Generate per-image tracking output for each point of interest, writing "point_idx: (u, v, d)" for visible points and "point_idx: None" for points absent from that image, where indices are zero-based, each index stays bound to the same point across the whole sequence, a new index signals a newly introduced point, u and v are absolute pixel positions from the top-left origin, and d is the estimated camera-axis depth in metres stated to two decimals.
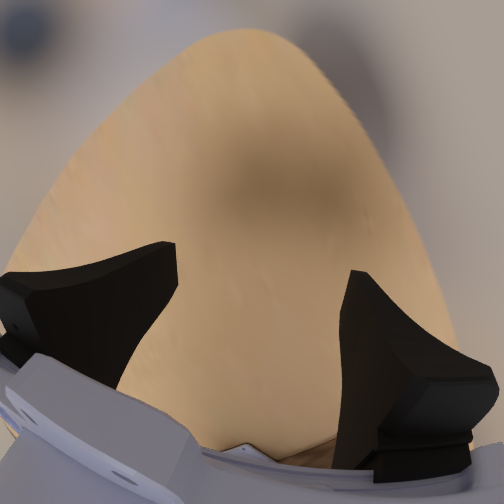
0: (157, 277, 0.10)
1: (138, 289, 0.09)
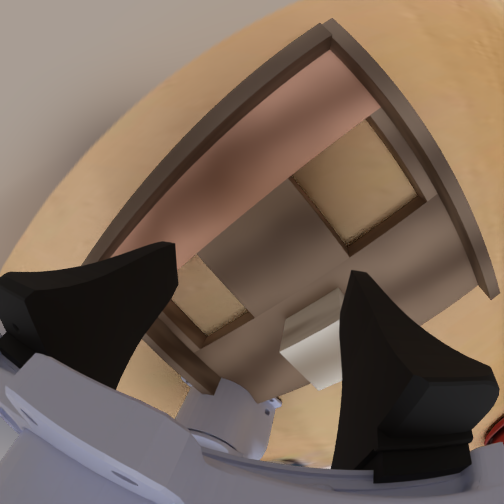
0: (157, 277, 0.10)
1: (138, 289, 0.09)
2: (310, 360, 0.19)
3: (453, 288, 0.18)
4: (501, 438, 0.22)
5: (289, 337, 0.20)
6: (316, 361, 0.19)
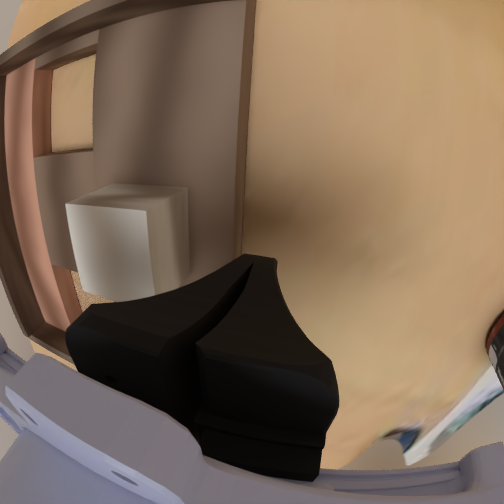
0: None
1: None
2: (103, 276, 0.13)
3: (215, 38, 0.11)
4: None
5: None
6: (105, 272, 0.13)
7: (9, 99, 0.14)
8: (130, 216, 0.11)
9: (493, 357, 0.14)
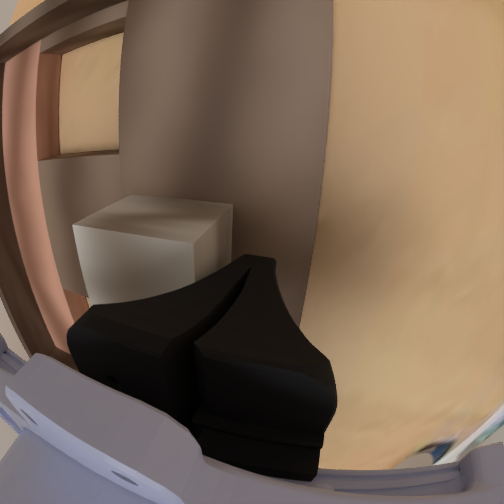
0: None
1: None
2: None
3: (295, 18, 0.08)
4: None
5: None
6: None
7: (8, 91, 0.11)
8: (168, 249, 0.08)
9: None
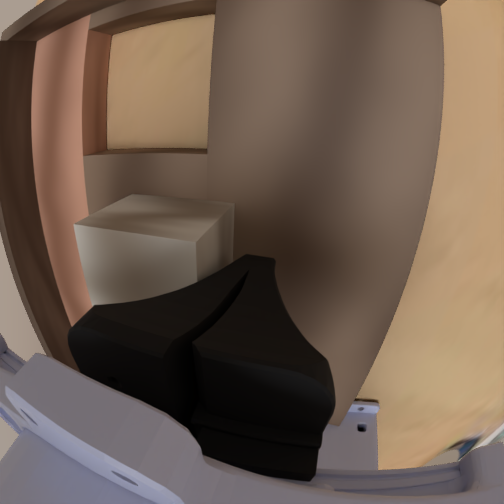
0: None
1: None
2: None
3: (412, 39, 0.07)
4: None
5: None
6: None
7: (41, 73, 0.10)
8: (170, 248, 0.08)
9: None
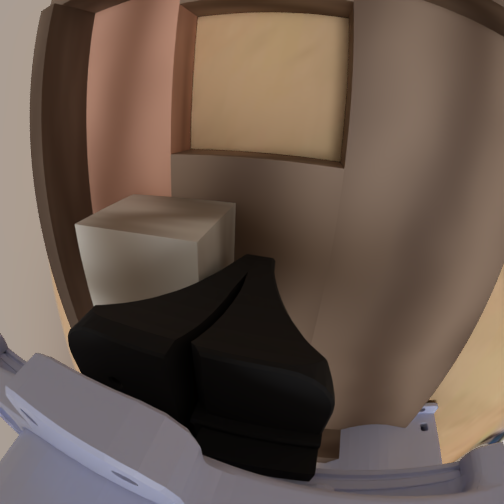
0: None
1: None
2: None
3: None
4: None
5: None
6: None
7: (103, 50, 0.09)
8: (171, 248, 0.08)
9: None
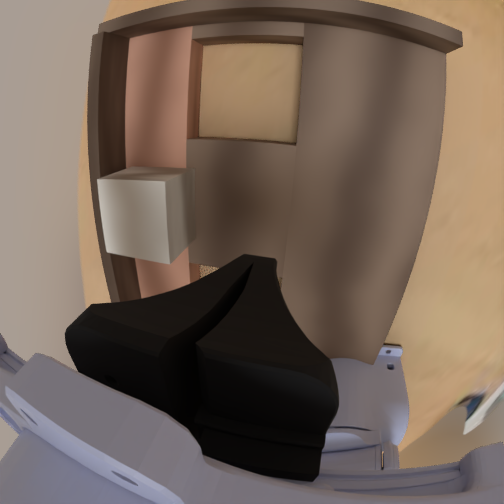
0: None
1: None
2: (125, 237, 0.17)
3: (426, 78, 0.12)
4: None
5: None
6: (128, 233, 0.16)
7: (137, 66, 0.15)
8: (152, 186, 0.15)
9: None
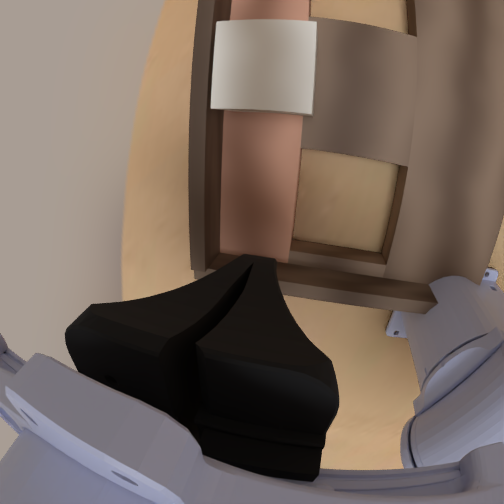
0: None
1: None
2: (249, 83, 0.12)
3: (499, 12, 0.08)
4: None
5: None
6: (254, 78, 0.12)
7: None
8: (298, 25, 0.10)
9: None
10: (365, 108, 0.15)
